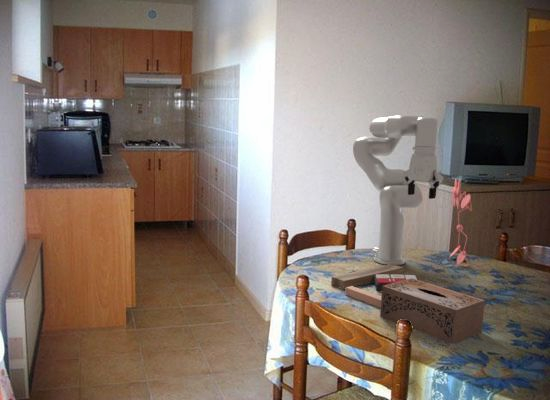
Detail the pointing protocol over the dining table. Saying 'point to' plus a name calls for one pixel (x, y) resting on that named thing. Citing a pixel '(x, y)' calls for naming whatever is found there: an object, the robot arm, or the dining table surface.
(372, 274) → the brown wooden plank
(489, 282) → the dining table surface
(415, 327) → the tissue box cover
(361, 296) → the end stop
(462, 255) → the leafy plant stem
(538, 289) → the dining table surface
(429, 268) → the dining table surface
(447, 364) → the dining table surface
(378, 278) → the calculator
